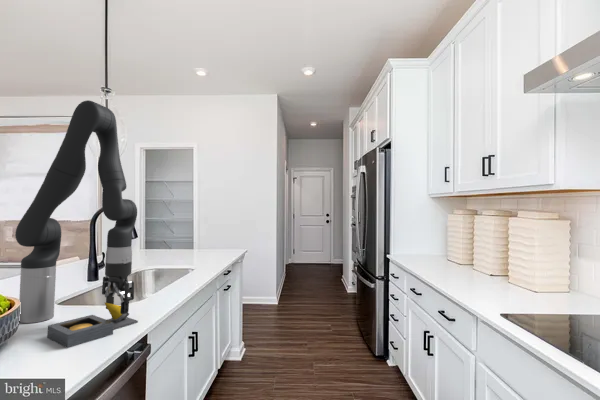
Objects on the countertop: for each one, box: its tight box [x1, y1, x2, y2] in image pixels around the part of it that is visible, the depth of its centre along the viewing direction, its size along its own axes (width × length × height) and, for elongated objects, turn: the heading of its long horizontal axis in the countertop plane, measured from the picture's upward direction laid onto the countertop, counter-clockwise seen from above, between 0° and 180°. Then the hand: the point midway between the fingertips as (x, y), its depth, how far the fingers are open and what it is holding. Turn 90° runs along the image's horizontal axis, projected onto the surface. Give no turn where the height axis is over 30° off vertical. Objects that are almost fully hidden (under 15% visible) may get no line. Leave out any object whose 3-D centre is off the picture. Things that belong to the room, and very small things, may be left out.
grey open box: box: [46, 314, 114, 349], centre depth 96 cm, size 12×12×4 cm
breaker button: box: [69, 324, 92, 331], centre depth 96 cm, size 6×6×2 cm
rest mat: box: [106, 316, 139, 331], centre depth 107 cm, size 9×9×1 cm
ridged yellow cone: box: [104, 302, 130, 322], centre depth 107 cm, size 5×5×10 cm
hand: (116, 311), depth 107 cm, fingers open, 8 cm apart
